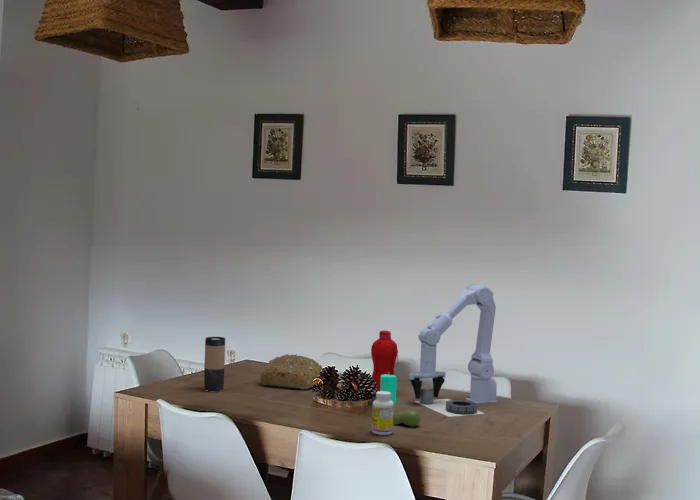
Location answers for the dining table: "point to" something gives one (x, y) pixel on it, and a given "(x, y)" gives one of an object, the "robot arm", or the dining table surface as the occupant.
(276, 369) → the bread
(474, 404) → the toothed grey gear
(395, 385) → the candle
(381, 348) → the water bottle
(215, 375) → the travel mug
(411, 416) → the pear
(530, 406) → the dining table surface
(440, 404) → the mat
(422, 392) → the cap
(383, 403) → the supplement bottle
